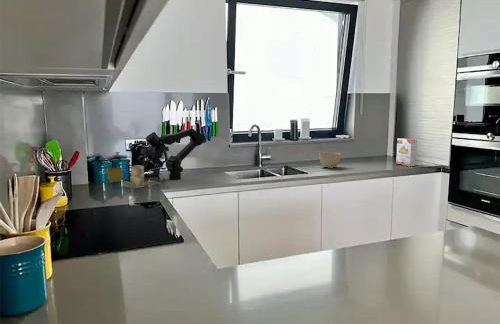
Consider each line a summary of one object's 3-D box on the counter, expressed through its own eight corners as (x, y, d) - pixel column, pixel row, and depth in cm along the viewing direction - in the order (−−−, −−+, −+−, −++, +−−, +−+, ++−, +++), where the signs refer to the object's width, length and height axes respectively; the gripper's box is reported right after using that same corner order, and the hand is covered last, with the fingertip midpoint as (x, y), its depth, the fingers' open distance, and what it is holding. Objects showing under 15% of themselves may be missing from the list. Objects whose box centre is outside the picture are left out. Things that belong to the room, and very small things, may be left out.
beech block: (139, 184, 222) (138, 165, 221) (144, 185, 219) (143, 166, 218) (131, 185, 219) (130, 166, 217) (136, 186, 215) (135, 167, 214)
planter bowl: (341, 169, 282) (341, 154, 280) (318, 169, 285) (318, 154, 283) (340, 166, 297) (340, 152, 296) (319, 165, 300) (319, 151, 299)
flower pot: (107, 182, 236) (106, 168, 234) (122, 181, 239) (121, 167, 238) (107, 185, 228) (106, 170, 226) (123, 184, 231) (122, 169, 229)
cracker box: (395, 164, 303) (396, 138, 300) (401, 164, 306) (402, 137, 303) (409, 167, 291) (411, 139, 288) (415, 166, 293) (417, 139, 290)
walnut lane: (152, 183, 232) (152, 177, 232) (162, 185, 226) (162, 178, 225) (123, 188, 218) (123, 181, 217) (133, 191, 211) (133, 183, 211)
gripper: (139, 142, 228) (123, 162, 221) (158, 143, 216) (142, 165, 209) (151, 154, 235) (136, 174, 228) (170, 156, 223) (154, 178, 216)
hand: (141, 173), depth 220 cm, fingers closed
